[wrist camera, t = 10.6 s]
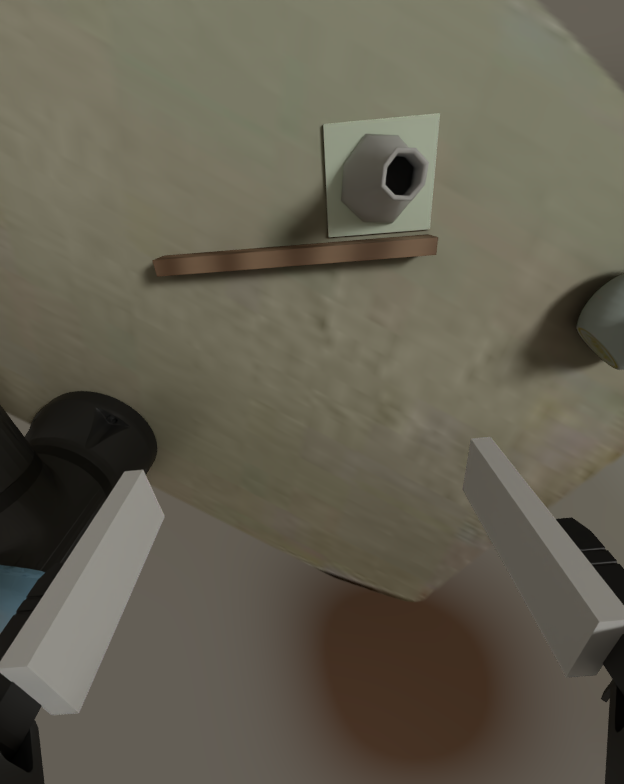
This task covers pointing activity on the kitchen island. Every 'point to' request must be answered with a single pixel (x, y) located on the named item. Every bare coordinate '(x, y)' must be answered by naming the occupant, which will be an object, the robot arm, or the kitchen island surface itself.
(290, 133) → the kitchen island surface
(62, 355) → the kitchen island surface
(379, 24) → the kitchen island surface
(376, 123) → the board
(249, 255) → the rail
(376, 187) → the flask
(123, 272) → the kitchen island surface
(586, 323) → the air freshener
